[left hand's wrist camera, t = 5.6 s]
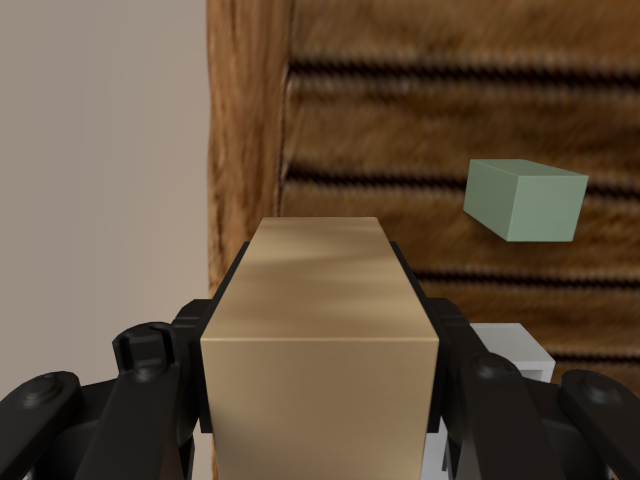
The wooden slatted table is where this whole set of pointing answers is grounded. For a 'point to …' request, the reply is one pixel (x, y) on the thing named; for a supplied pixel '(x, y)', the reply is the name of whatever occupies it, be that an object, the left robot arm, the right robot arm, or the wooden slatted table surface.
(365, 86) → the wooden slatted table surface
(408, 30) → the wooden slatted table surface
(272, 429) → the birch block
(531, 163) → the sage block
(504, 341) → the tray
